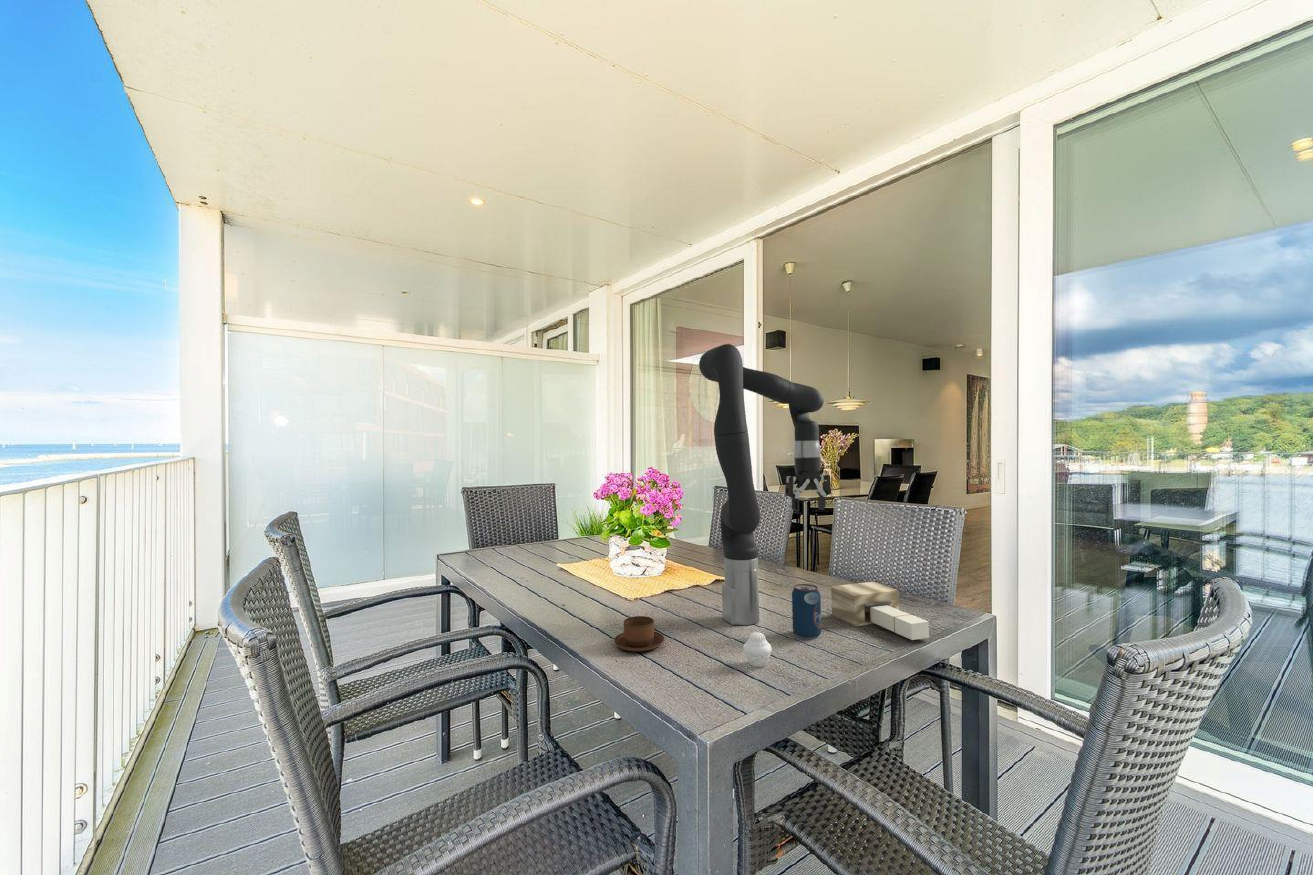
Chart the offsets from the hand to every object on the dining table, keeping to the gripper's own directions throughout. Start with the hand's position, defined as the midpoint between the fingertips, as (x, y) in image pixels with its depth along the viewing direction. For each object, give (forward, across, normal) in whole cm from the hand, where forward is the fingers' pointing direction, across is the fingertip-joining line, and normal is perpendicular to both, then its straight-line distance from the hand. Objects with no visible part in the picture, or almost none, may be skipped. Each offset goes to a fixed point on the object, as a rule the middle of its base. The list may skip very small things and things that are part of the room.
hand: (808, 510), depth 158 cm
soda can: (+28, +15, +21) cm, 38 cm away
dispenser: (+28, -7, +15) cm, 33 cm away
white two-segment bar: (+27, -7, +28) cm, 39 cm away
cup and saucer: (+28, +56, +13) cm, 65 cm away
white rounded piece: (+28, +35, +33) cm, 56 cm away
